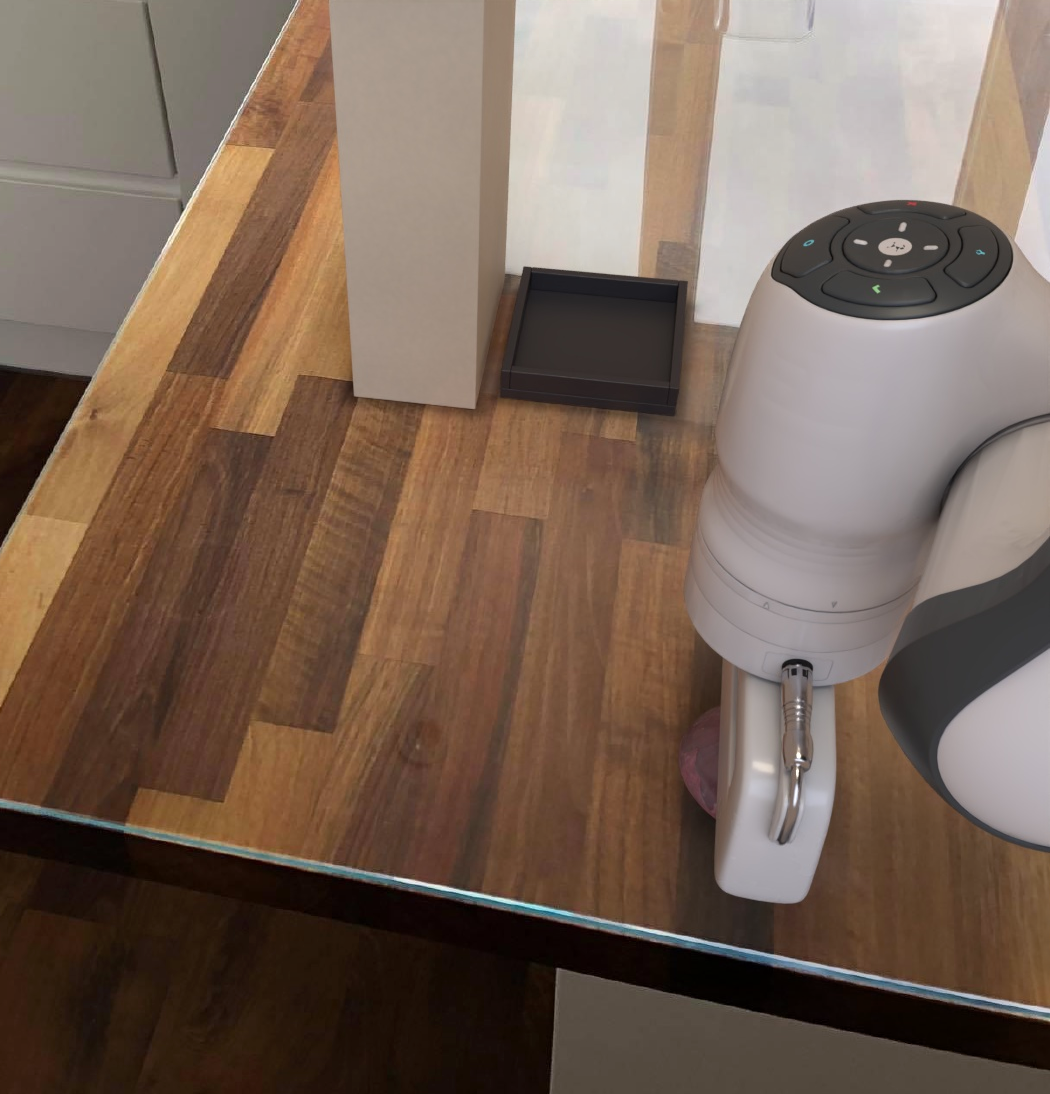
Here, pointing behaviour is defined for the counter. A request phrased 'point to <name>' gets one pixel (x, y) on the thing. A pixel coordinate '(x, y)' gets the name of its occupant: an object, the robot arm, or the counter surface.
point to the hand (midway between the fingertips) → (742, 766)
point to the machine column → (423, 189)
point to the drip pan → (596, 340)
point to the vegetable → (702, 759)
